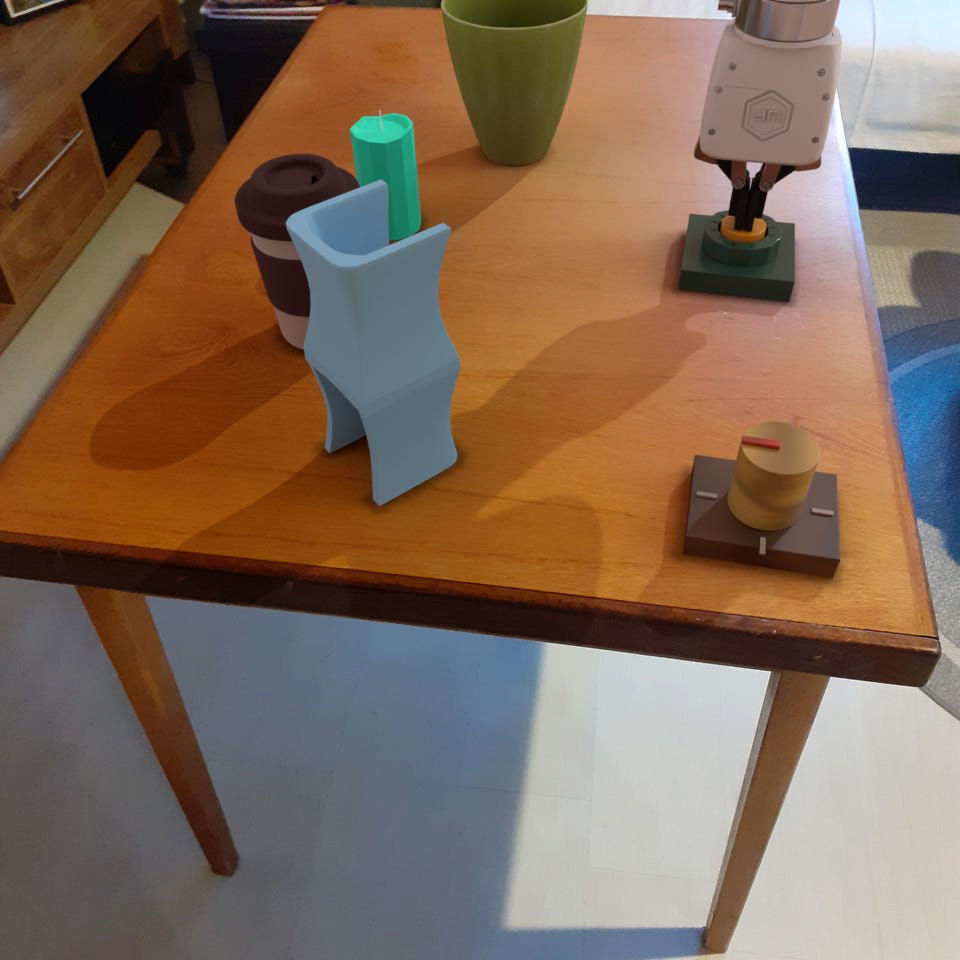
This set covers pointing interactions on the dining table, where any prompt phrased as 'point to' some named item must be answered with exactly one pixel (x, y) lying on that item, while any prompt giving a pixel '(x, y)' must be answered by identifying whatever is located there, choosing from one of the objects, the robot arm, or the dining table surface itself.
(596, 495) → the dining table surface
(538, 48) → the flower pot
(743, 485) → the knob
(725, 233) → the button
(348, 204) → the light blue open shell
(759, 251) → the switch box
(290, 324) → the coffee cup
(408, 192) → the candle
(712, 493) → the dimmer
